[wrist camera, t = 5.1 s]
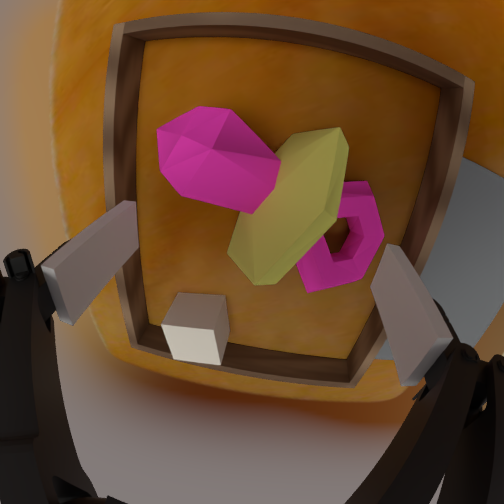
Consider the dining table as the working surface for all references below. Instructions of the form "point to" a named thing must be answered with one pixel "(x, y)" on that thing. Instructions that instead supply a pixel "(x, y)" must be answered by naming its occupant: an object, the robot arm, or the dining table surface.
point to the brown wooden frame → (300, 32)
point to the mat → (468, 255)
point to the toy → (275, 196)
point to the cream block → (197, 327)
